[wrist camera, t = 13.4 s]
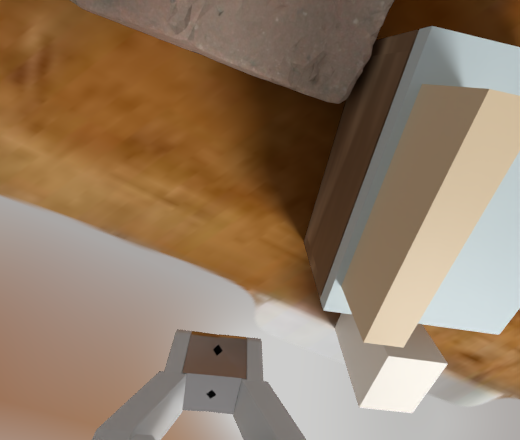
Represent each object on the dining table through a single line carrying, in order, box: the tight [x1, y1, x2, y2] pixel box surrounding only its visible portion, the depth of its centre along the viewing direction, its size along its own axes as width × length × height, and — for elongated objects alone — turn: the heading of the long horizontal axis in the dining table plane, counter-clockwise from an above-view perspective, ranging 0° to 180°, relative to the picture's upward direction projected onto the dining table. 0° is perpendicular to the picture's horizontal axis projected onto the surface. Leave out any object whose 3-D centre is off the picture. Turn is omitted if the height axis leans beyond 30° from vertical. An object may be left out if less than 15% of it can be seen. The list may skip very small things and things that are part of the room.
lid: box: [320, 26, 520, 348], centre depth 14 cm, size 12×15×5 cm
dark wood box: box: [304, 30, 419, 297], centre depth 20 cm, size 12×15×7 cm
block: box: [335, 313, 448, 413], centre depth 26 cm, size 4×6×8 cm
